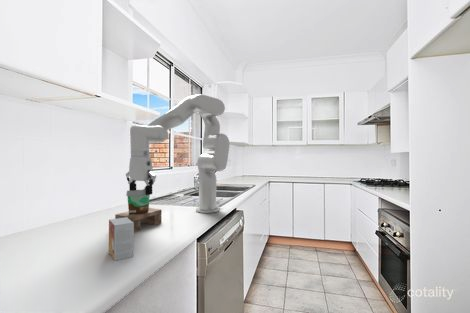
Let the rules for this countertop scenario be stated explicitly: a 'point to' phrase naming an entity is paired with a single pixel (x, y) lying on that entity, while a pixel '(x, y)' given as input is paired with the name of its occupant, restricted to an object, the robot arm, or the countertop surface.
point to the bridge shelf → (147, 220)
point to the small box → (121, 238)
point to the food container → (138, 201)
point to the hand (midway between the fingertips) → (140, 193)
